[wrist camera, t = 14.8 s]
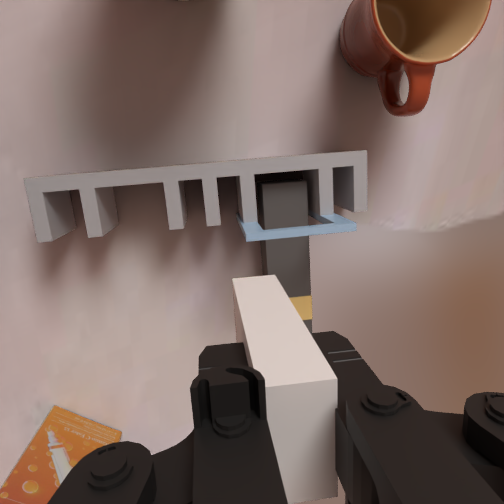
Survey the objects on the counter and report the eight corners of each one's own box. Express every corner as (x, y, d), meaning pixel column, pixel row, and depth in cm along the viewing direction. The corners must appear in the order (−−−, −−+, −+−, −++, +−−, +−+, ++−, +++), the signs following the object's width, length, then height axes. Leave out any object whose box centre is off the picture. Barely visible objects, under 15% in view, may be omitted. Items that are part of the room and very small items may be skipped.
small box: (123, 430, 44) (88, 540, 31) (98, 474, 45) (55, 598, 32) (53, 402, 42) (-13, 506, 30) (29, 448, 43) (-46, 568, 31)
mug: (328, -15, 35) (374, -82, 25) (421, -14, 36) (500, -78, 26) (326, 124, 38) (367, 113, 28) (412, 122, 39) (481, 111, 29)
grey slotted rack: (63, 229, 38) (37, 242, 32) (53, 175, 37) (23, 178, 31) (344, 203, 40) (367, 211, 34) (343, 151, 39) (367, 150, 33)
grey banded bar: (265, 330, 43) (272, 350, 38) (256, 181, 39) (261, 184, 34) (302, 326, 43) (313, 345, 39) (296, 178, 39) (307, 181, 35)
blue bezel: (236, 219, 40) (246, 241, 29) (236, 213, 39) (245, 233, 29) (318, 211, 40) (356, 230, 30) (318, 205, 40) (356, 223, 30)
